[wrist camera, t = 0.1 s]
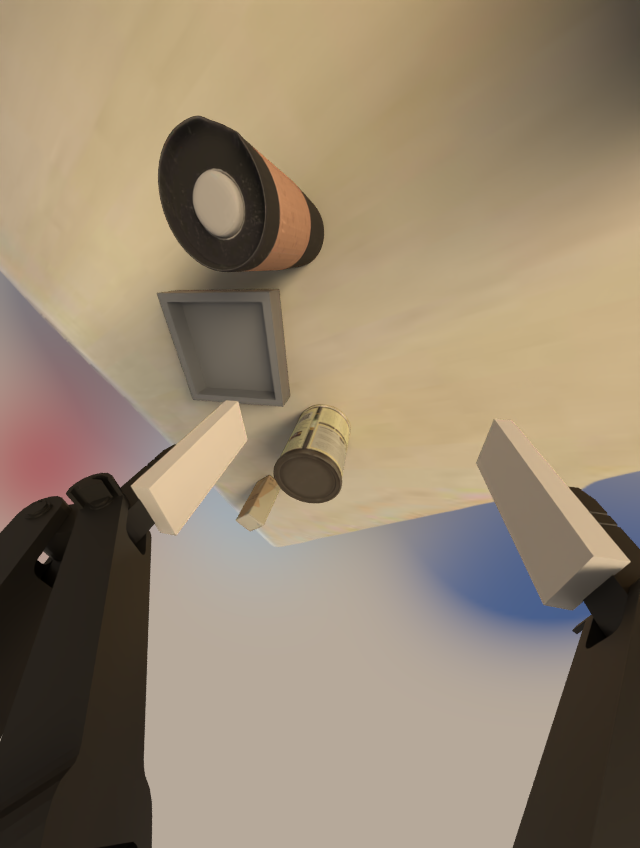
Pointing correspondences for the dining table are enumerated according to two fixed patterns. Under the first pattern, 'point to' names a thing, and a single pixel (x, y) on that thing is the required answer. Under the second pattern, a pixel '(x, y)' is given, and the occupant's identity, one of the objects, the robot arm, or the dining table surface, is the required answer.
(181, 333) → the bin
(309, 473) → the coffee can
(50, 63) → the dining table surface
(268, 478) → the box
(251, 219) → the travel mug
